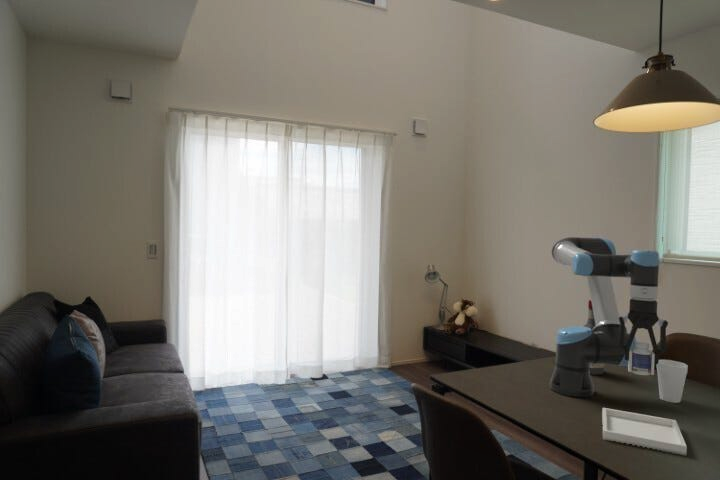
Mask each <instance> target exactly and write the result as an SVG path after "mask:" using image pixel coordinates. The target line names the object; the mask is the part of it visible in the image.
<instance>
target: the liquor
mask: <svg viewBox="0 0 720 480" xmlns="http://www.w3.org/2000/svg"><path fill="white" fill-rule="evenodd" d="M587 308H588V310H587V311H588V312H587V313H588V315H587V321H586V323H585V324H584V325H583V326H582V327H588V328H590V329H591V331H592V329H593V328H594V327H595V326H596V324H595V319H594V313H593V308H592V302H591V299H590V300H588V305H587ZM604 372H605V365H602V364H590V374H591V376H596V375H599V376H600V375H603V374H604Z"/></svg>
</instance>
